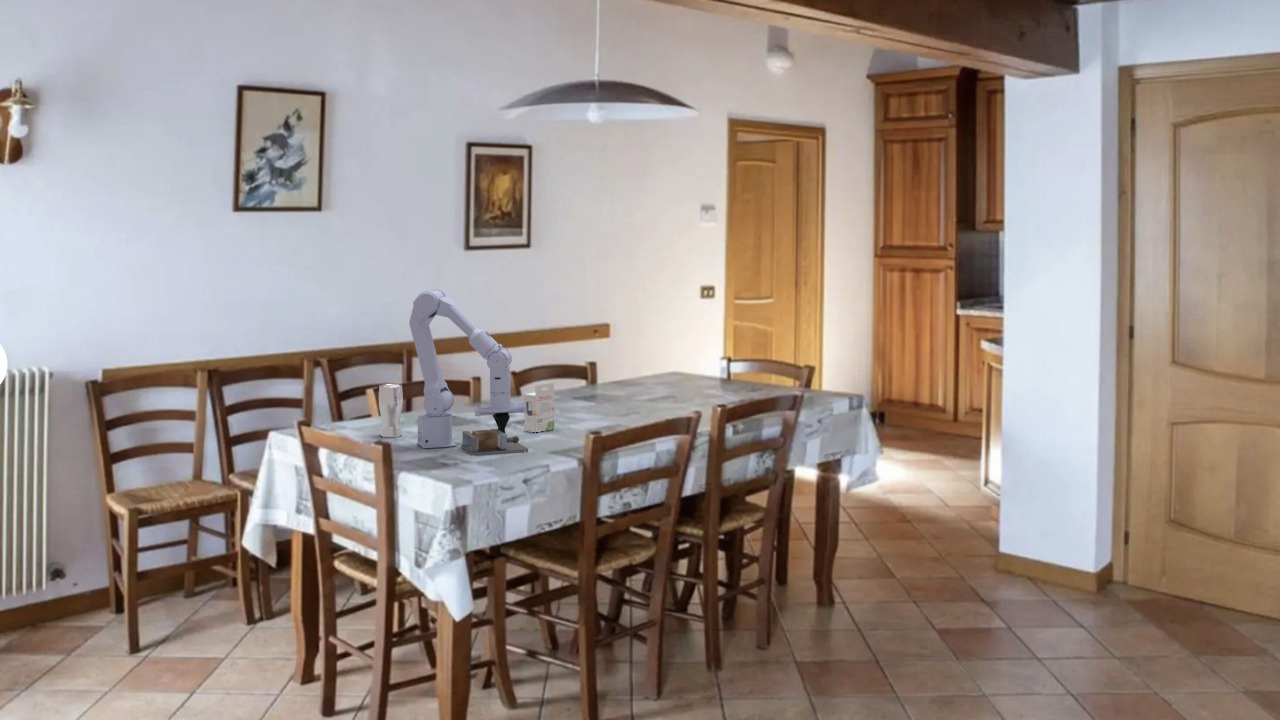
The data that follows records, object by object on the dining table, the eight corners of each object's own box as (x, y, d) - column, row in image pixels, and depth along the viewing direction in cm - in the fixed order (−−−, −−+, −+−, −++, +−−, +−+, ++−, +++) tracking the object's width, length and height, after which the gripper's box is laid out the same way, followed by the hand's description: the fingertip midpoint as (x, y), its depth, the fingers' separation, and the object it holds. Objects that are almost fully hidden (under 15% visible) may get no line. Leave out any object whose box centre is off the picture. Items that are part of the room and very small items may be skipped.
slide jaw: (500, 449, 315) (500, 435, 315) (489, 442, 324) (489, 428, 324) (520, 448, 317) (520, 433, 317) (509, 441, 326) (509, 427, 326)
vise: (472, 455, 311) (472, 438, 310) (460, 447, 322) (460, 430, 321) (528, 451, 317) (528, 434, 317) (515, 443, 328) (515, 427, 328)
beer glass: (374, 435, 337) (373, 385, 335) (394, 432, 342) (393, 383, 340) (388, 439, 332) (387, 388, 330) (407, 435, 337) (407, 385, 335)
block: (476, 449, 315) (476, 433, 315) (472, 446, 319) (472, 430, 318) (497, 448, 318) (497, 432, 317) (492, 445, 321) (492, 429, 321)
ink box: (543, 427, 354) (543, 380, 352) (554, 429, 351) (555, 382, 349) (523, 431, 347) (523, 383, 345) (535, 433, 344) (535, 385, 342)
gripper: (479, 395, 314) (480, 444, 316) (529, 392, 320) (530, 439, 321) (472, 392, 320) (473, 439, 322) (521, 388, 326) (522, 435, 328)
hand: (501, 439), depth 322 cm, fingers closed, pressing on slide jaw
